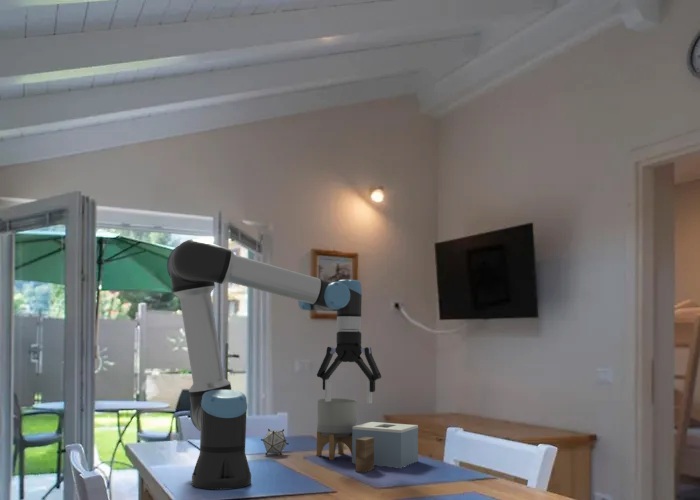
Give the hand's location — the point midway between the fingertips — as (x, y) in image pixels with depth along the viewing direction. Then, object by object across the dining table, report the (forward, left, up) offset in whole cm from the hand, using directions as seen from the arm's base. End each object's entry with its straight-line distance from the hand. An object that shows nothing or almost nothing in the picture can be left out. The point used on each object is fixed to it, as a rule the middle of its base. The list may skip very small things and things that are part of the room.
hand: (348, 402), depth 212 cm
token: (-3, -7, -19) cm, 20 cm away
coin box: (+12, -7, -19) cm, 23 cm away
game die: (+7, +30, -19) cm, 36 cm away
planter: (+14, +11, -19) cm, 26 cm away
